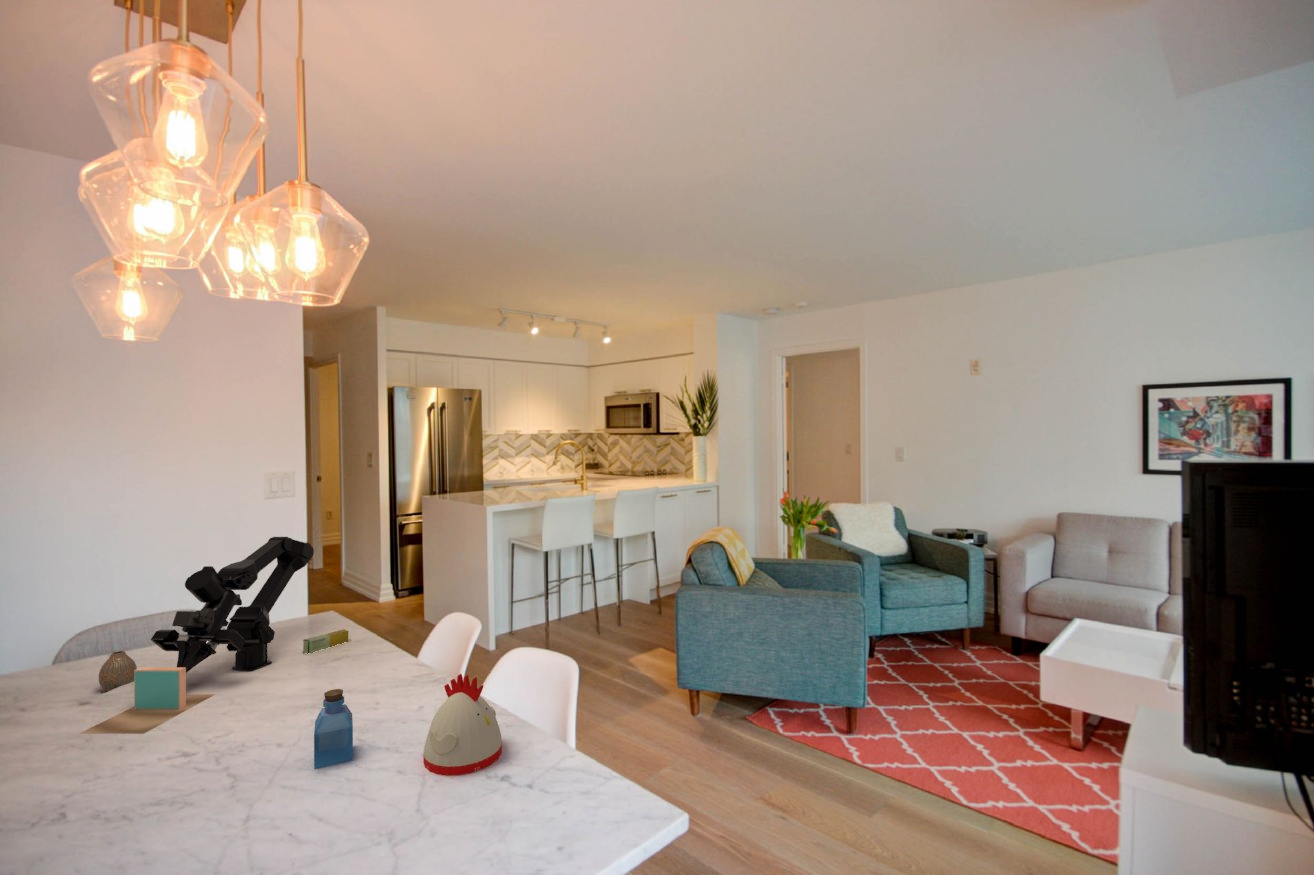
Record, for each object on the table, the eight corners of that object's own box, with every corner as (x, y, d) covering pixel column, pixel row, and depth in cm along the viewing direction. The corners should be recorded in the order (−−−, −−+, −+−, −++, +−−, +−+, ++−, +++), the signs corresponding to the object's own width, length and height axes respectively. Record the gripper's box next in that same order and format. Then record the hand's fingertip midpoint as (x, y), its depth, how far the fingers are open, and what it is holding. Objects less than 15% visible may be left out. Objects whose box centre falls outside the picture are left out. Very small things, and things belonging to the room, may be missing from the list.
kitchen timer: (470, 782, 105) (470, 694, 105) (406, 768, 109) (406, 684, 109) (516, 744, 118) (515, 666, 118) (457, 733, 122) (457, 658, 123)
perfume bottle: (314, 769, 109) (314, 702, 109) (315, 753, 115) (315, 689, 115) (352, 760, 112) (352, 695, 112) (352, 746, 117) (352, 683, 118)
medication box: (307, 655, 169) (307, 641, 169) (302, 653, 171) (302, 639, 171) (348, 643, 179) (349, 630, 179) (343, 641, 181) (343, 628, 181)
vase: (144, 683, 149) (144, 647, 150) (116, 695, 143) (117, 657, 143) (119, 682, 150) (119, 647, 150) (90, 694, 143) (90, 656, 143)
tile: (140, 706, 133) (140, 667, 133) (185, 706, 132) (185, 667, 132) (134, 710, 131) (133, 670, 131) (179, 710, 131) (179, 670, 131)
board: (159, 700, 139) (159, 694, 139) (215, 701, 139) (215, 694, 139) (79, 740, 120) (79, 733, 120) (143, 741, 120) (143, 733, 120)
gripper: (157, 595, 142) (114, 659, 131) (235, 595, 142) (199, 659, 131) (184, 619, 150) (145, 682, 139) (259, 619, 150) (226, 682, 138)
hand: (178, 676), depth 136 cm, fingers closed
